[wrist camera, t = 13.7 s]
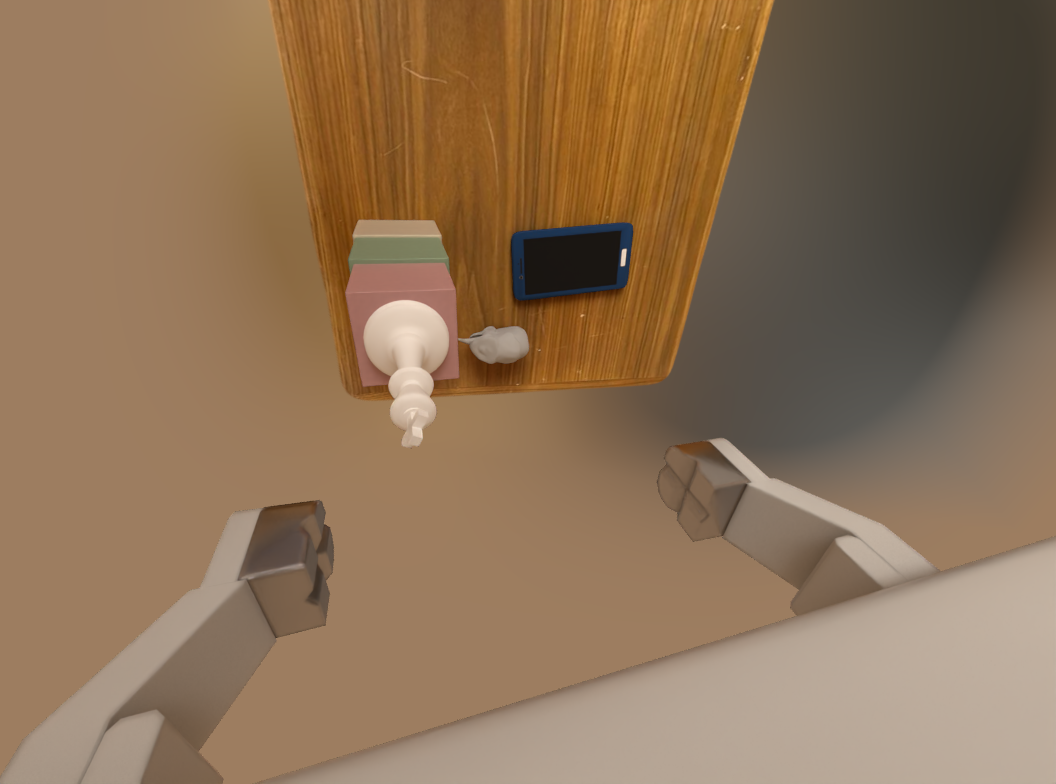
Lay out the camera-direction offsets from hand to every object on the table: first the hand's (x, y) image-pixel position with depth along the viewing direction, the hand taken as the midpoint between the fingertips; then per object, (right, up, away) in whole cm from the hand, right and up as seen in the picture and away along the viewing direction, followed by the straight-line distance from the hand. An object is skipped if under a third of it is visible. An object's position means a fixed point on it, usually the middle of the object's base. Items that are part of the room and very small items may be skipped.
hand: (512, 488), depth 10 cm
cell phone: (+5, +17, +36) cm, 40 cm away
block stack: (-12, +16, +31) cm, 37 cm away
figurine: (-4, +9, +38) cm, 40 cm away
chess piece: (-7, +6, +15) cm, 18 cm away
